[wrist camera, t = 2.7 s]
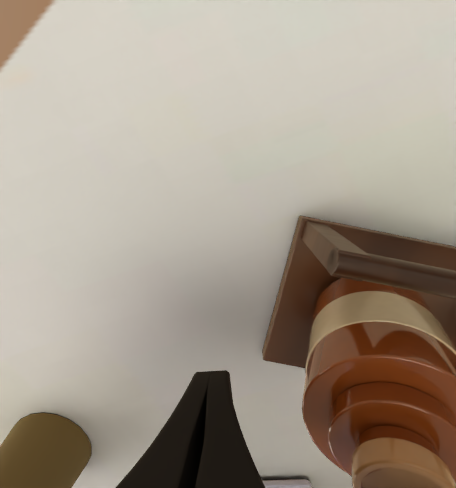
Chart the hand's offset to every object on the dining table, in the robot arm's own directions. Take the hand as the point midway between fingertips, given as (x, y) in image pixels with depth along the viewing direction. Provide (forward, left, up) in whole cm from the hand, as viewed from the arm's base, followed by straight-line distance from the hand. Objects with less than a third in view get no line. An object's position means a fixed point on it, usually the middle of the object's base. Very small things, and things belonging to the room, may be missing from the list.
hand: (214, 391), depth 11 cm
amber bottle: (0, -8, -4) cm, 9 cm away
